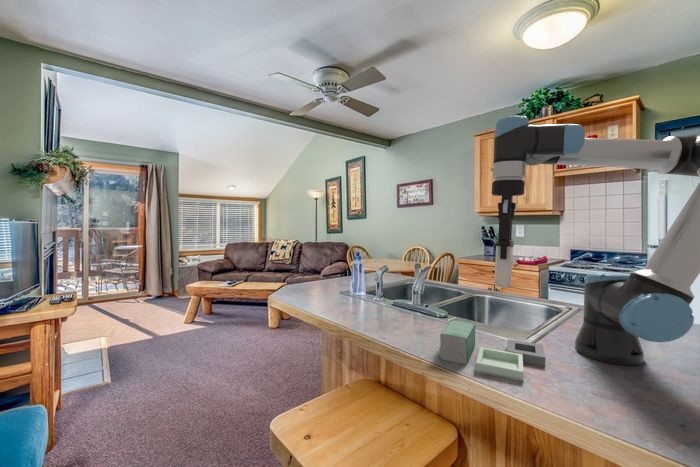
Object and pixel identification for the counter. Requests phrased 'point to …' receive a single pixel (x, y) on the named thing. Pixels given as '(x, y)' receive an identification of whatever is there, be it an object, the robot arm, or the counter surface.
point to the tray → (500, 364)
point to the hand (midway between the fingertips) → (503, 270)
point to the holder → (528, 351)
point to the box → (457, 342)
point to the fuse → (504, 277)
